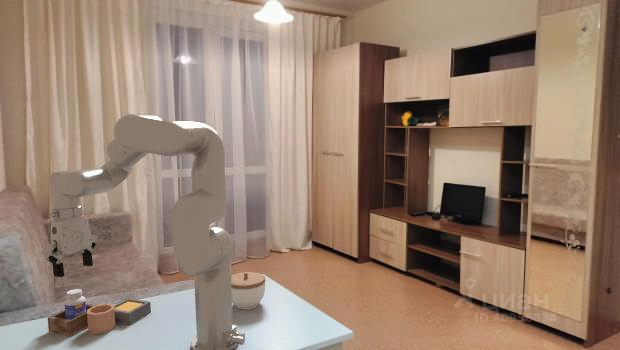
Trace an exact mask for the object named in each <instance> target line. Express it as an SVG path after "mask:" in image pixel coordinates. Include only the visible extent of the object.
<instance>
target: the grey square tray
mask: <svg viewBox="0 0 620 350" xmlns="http://www.w3.org/2000/svg"><path fill="white" fill-rule="evenodd" d="M128 301H129V302H136V303H142V305H140V306H139V307H137V308H135V309H133V310H131V311H129V312H128V311H122V310H116V309H114V311H115V323H117V324H118V323H119V324H124V325H132V324H134V323H135V322H137V321H139V320H140V319H143V318H144V317H146V316H147V315H149V314H151V313H152V308H151V307H152V306H151V305H152V304H151V301H147V300H143V299H142V300H140V299H135V298H129V297H128V298H125V299H124V300H122V301H119V302H117V303H116V304H113V305H114V308H116V307H118V306H120V305H122V304H124V303H126V302H128Z"/></svg>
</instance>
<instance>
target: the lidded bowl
mask: <svg viewBox="0 0 620 350" xmlns="http://www.w3.org/2000/svg"><path fill="white" fill-rule="evenodd" d="M231 285H232V287H231V291H232V305H234V306H235V307H236V309H238V310H242V309H243V310H244V311H245V310H247V309H248V310H252V309H255V308H257V307H258V305H259V304H260V303H261V301H263V298H264V295H265V291H266V290H265V289H266V276H265V275H264V274H263V273H259V272H257V271H256V272H255V271H245V272H243V271H242V272H238V273H234V274H231Z"/></svg>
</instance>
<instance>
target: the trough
mask: <svg viewBox="0 0 620 350" xmlns="http://www.w3.org/2000/svg"><path fill="white" fill-rule="evenodd" d="M96 305H97V304H96ZM96 305H95V304H91V303H90V304H89V303H86V312H85V313H83V314H81V315H79V316H77V317H75V318H73V319H71V320H68V319H66V316H65V309H64V310H61V311H59V312H57V313H55V314H53V315H50V316H48V317H47V326H48V327H47V329H48V332H49V333H52V334H57V335H62V336H67V337H72V336H74V335H76V334H78V333H80V332H82V331H84V330H85V329H86V330H87V329H88V320H87V310H88V309H89V308H91V307H94V306H96Z"/></svg>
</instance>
